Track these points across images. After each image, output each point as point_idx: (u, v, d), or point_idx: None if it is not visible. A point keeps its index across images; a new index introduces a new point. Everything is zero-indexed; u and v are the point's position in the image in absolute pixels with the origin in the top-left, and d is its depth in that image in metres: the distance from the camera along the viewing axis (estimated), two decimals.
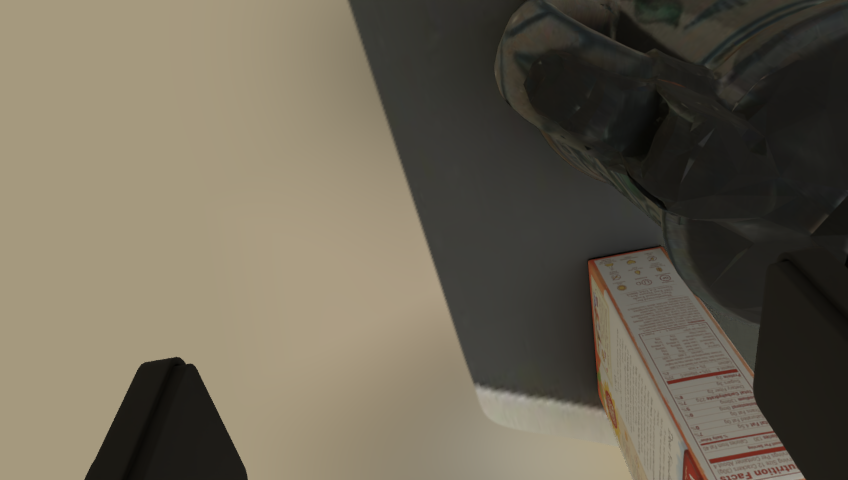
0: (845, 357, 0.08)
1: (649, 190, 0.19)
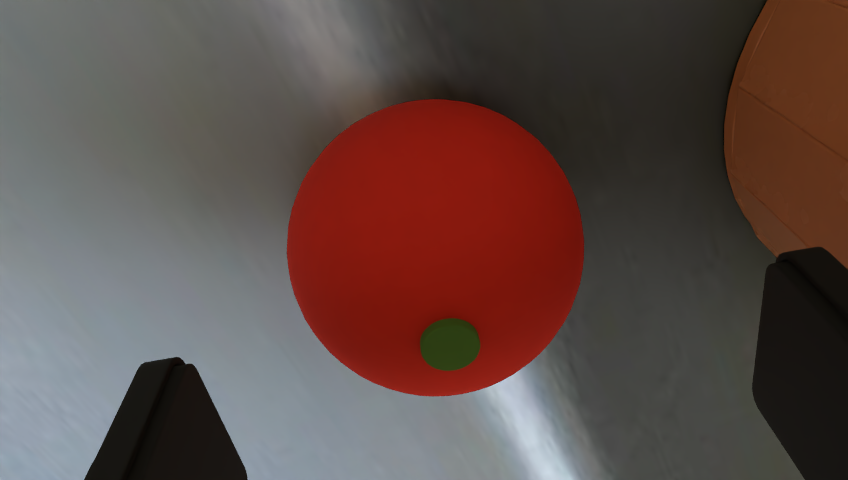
0: (844, 357, 0.08)
1: None
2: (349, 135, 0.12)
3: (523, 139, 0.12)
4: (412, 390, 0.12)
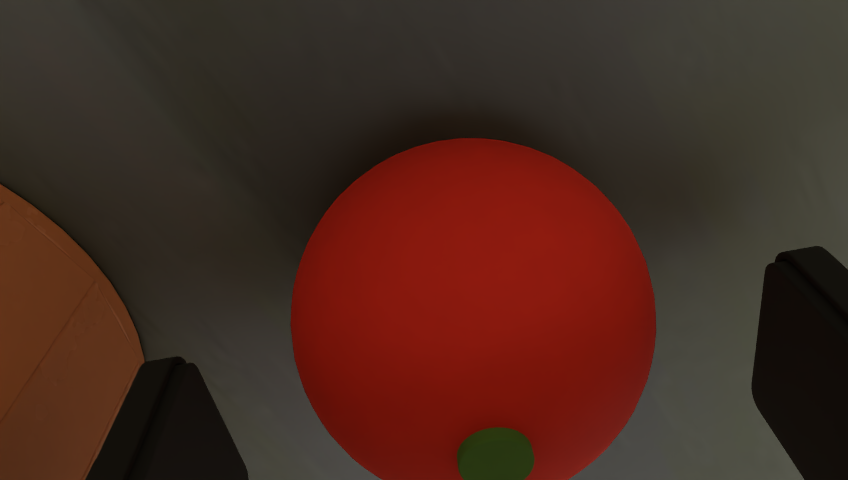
0: (843, 357, 0.08)
1: None
2: (367, 185, 0.10)
3: (584, 191, 0.09)
4: None
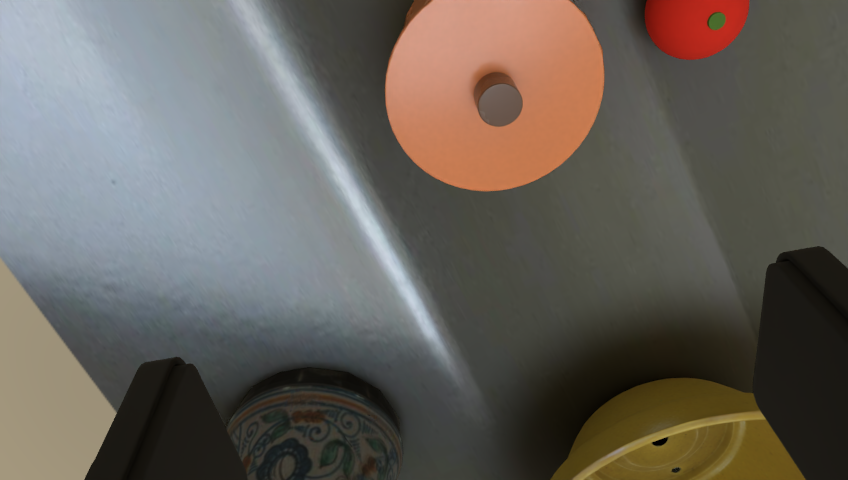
0: (845, 357, 0.08)
1: None
2: None
3: None
4: (696, 46, 0.39)
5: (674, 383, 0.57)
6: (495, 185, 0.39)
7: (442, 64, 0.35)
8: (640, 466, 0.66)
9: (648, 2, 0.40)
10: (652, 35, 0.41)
